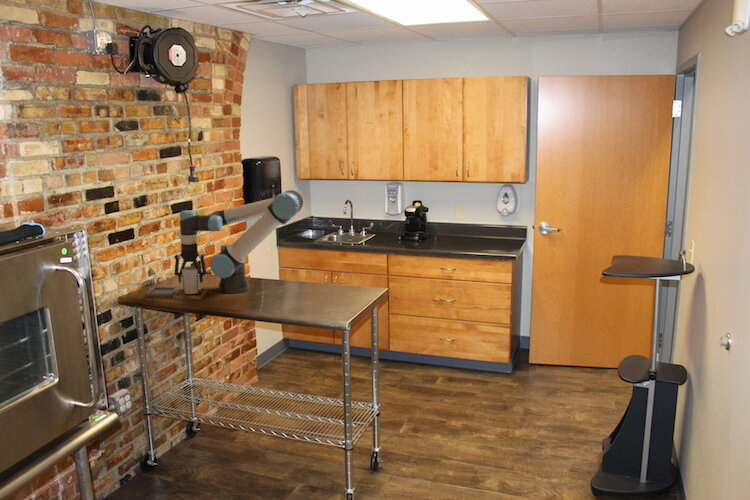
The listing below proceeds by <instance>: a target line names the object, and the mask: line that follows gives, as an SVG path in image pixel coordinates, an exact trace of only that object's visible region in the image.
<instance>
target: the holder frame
mask: <svg viewBox="0 0 750 500" xmlns="http://www.w3.org/2000/svg"><path fill="white" fill-rule="evenodd" d="M181 293H185V289H183V290H181V288H178V291H177V292H176V293H175V294H174V295H173V297H172V299H173V300H203V299H204V297H205V296H206V295H207V294H208V288H201V289H200V290H198V293H202V294H201V295H180V294H181Z"/></svg>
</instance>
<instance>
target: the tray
mask: <svg viewBox="0 0 750 500" xmlns="http://www.w3.org/2000/svg"><path fill="white" fill-rule="evenodd" d="M178 290H179V286H152V287H151V289H149V290H148V291H147V292H146V298H173V295H174V294H175V293H176V292H177V291H178Z"/></svg>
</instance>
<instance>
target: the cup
mask: <svg viewBox="0 0 750 500" xmlns="http://www.w3.org/2000/svg"><path fill="white" fill-rule="evenodd" d="M182 275H183V281H184V289H185V292H184V294H187V295H193V294H194V295H195V294H198V293H199V292H198V276H199V274H198V269H196V267H195V265H194V266H185V267H184V270H183V269H182Z"/></svg>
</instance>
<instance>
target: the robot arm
mask: <svg viewBox="0 0 750 500" xmlns="http://www.w3.org/2000/svg"><path fill="white" fill-rule="evenodd" d="M303 204H304V199H303V197H302V194H300V193H299V192H298V191H296V190H286V191H283V192H282V193H280V194H275V195H273V197H271V198H267V199H264V200H263V199H262V200H258V201H255V202H252V203H246V204H243V205H238V206H234V207H231V208H230V207H229V208H227V209H222V210H216V211H213V212H212V213H209V214H208V215H207V214H206V215H205V214H204V215H203V214H200V215H199V214H197V212H196V211H195V210H190V209H189V210H188V209H187V210H181V211H180V212H179V228H180V229H179V230H180V233H179V234H180V243H181V244H180V251H181V252H180V254H178V253H177V254H175V255H174V259H175V264H174V272H173V274H174V276H177V277H178V283H179V284H180V285H181V286H180V289H181V290H183V289H184V281H183V275H182V269H183V270H184V267H186V264H187V263H192V264H193V265H194V266H195V267H196V269H198V290H200V289H202V283H203V282H204V276H205V275H207V269H206V262H205V257H206V256H205V254H204V253H203V254H202V253H201V254H200V253H199V251H198V243H197V242H198V232H213V233H214V232H220V231H222V228H223V226H228V225H231V224H234V223H235V224H236V223H239V222H244V221H247V220H252V219H256V218H258V219H257V220H256V221H255V222H254V223H253V224H252V225H251V226H250V227H249V228H248V229H247V230H246V231H245V232H244V233H243V234H242V235H241V236H240V237H239V238H237V240H235V242H234V243H232V244H222V245H221V246H220V252H219V253H217V254H215V255H214V256H213V257H212V259H211V260H210V265H209V267H210V270H211V272H212V274H214V275H215V276H216V277H218V278H219V282H218V285H217V290H218V292H220V293H224V294H239V293H244V292H247V291H249V288H250V287H249V282H248V279H247V277H246V272H245V271H246V257H247V256H248V255H250V254H251V252H252V251H253V250H255V249H256V248H257V247H258V246H259V245H260V244H261V243H262V242H263V241H264V240H265V239H267V238H268V237H269V235H271V234H272V233H273V232H274V231H275V230H276V229H277V228H278V227H279V226H280V225H281V226H282V225H283V226H285V225H286V224H287V223H288V222H290V220H292V218H293V217H295V216H296V214H298V213H300V212H301V210H302V208H303ZM181 258H182V260H183V261H182V264H181V267H180V259H181ZM197 258H199V259H200V264H201V267H200V265H199V262H198V260H197ZM179 268H180V269H179Z"/></svg>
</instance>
